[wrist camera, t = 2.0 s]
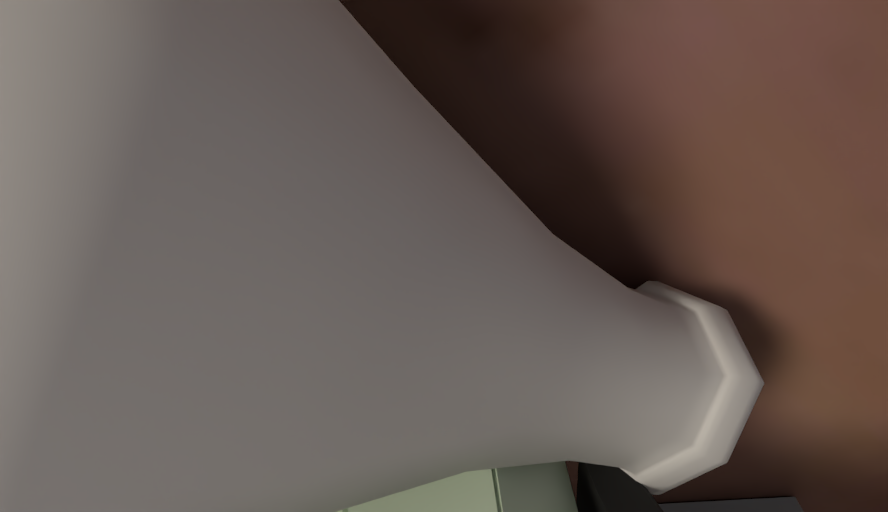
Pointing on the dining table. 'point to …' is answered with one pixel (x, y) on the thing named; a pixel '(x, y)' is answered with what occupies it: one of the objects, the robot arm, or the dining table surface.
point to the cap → (486, 492)
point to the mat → (737, 505)
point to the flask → (300, 281)
